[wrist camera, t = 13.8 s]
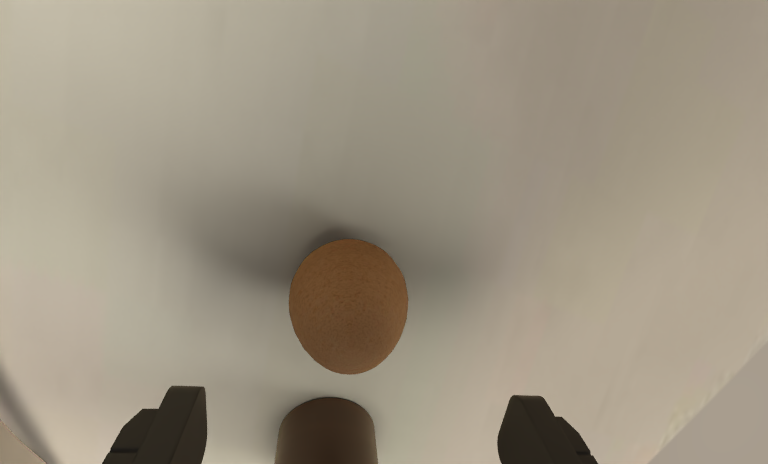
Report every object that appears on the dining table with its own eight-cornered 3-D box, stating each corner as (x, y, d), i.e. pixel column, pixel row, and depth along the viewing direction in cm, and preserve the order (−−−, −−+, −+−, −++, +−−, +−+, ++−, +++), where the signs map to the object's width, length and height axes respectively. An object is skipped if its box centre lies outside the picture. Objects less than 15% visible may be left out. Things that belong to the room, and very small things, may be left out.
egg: (395, 214, 17) (423, 288, 12) (399, 303, 19) (425, 403, 14) (287, 224, 17) (266, 305, 12) (302, 314, 19) (290, 421, 13)
